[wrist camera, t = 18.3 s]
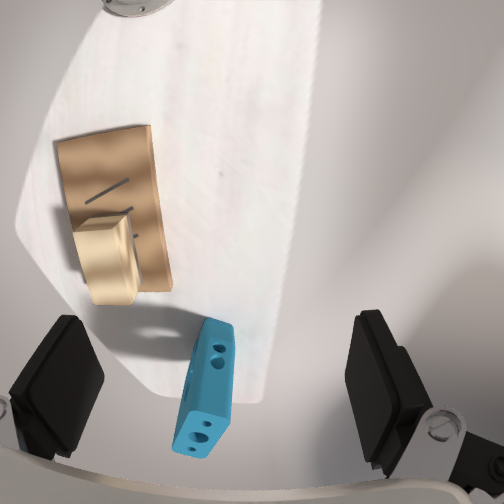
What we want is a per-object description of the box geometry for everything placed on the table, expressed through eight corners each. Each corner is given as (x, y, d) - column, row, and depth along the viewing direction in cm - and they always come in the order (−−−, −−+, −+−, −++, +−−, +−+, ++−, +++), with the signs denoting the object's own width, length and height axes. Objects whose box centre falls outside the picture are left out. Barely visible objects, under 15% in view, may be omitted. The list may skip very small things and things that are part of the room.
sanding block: (91, 215, 42) (72, 232, 37) (128, 212, 42) (112, 229, 37) (108, 282, 47) (93, 304, 42) (143, 282, 47) (131, 305, 41)
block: (215, 365, 57) (204, 459, 39) (189, 357, 56) (170, 450, 38) (239, 318, 52) (232, 419, 34) (209, 308, 51) (190, 408, 33)
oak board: (63, 141, 39) (56, 143, 37) (150, 125, 39) (145, 126, 37) (94, 285, 50) (90, 292, 48) (173, 284, 49) (170, 291, 47)
